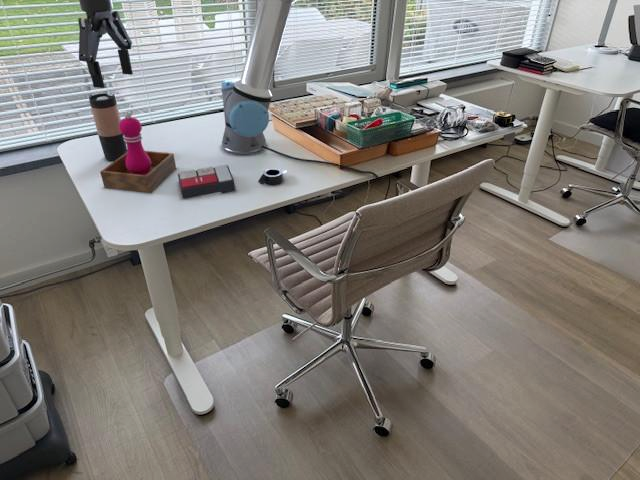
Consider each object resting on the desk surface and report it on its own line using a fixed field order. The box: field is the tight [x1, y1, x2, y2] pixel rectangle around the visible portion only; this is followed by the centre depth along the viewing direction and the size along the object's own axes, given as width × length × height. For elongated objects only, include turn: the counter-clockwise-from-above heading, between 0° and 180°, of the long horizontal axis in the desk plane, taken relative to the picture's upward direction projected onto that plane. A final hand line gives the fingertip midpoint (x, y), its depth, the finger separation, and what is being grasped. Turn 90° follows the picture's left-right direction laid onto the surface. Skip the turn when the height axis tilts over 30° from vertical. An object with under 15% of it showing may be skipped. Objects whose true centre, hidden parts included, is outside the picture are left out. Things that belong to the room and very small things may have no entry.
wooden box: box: [99, 150, 177, 194], centre depth 138 cm, size 15×17×5 cm
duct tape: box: [257, 167, 288, 187], centre depth 139 cm, size 8×10×3 cm
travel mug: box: [88, 93, 127, 163], centre depth 146 cm, size 8×8×20 cm
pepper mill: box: [119, 112, 151, 175], centre depth 134 cm, size 7×7×20 cm
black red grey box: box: [177, 164, 236, 200], centre depth 135 cm, size 11×4×15 cm
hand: (114, 80), depth 126 cm, fingers open, 13 cm apart
